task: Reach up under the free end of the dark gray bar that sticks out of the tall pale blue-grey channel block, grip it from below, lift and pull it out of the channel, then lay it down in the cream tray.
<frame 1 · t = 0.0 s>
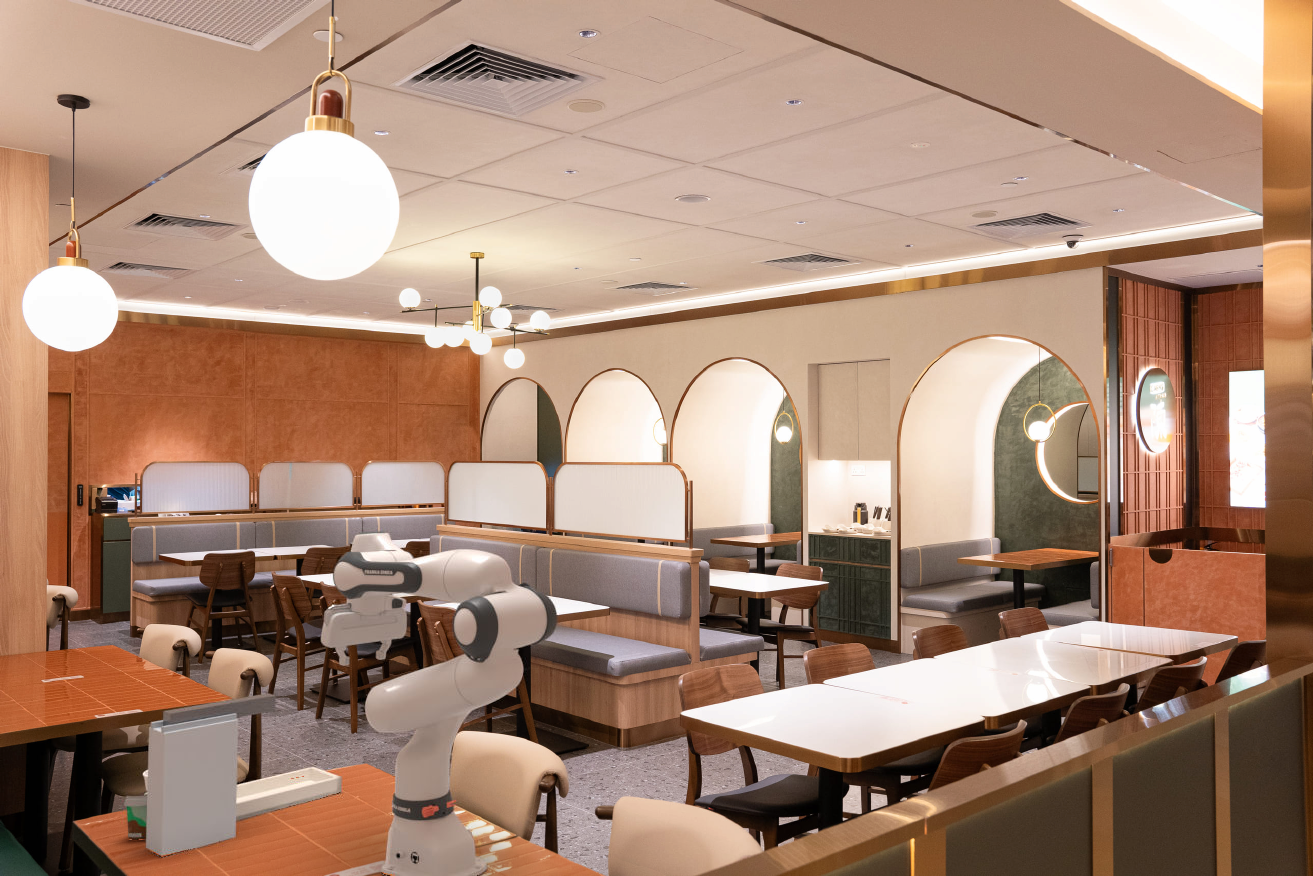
hand: (362, 661, 221), 39 cm above the table, tool pointing down, fingers open, 8 cm apart
tray: (270, 802, 242), on the table
dark gray bar: (221, 718, 220), point 26 cm above the table, touching channel block
channel block: (191, 842, 214), on the table
food container: (156, 835, 219), on the table
cup: (165, 818, 230), on the table
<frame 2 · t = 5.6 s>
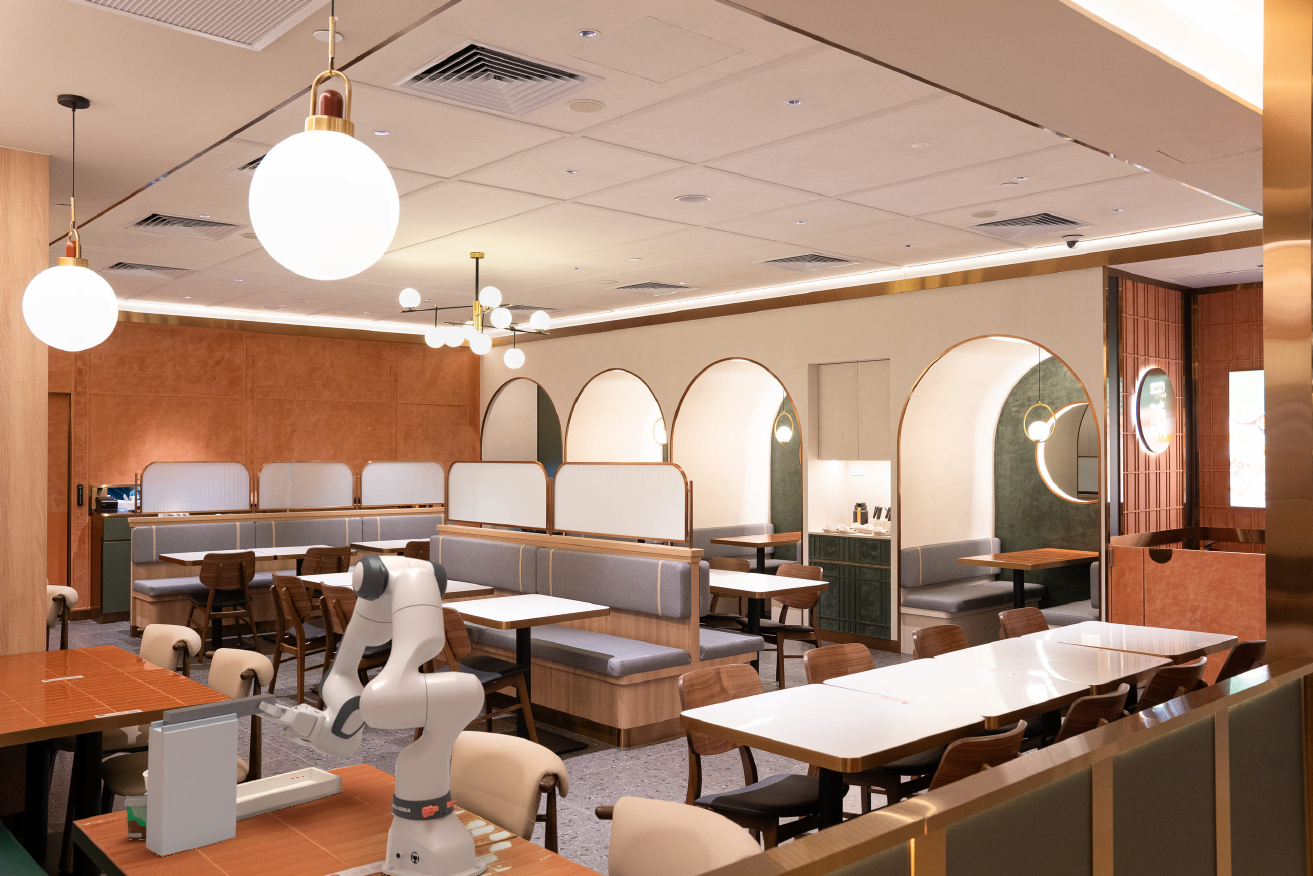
hand: (254, 703, 226), 28 cm above the table, tool pointing upward, fingers closed on dark gray bar, 3 cm apart
dark gray bar: (221, 718, 220), point 26 cm above the table, touching channel block, gripper
everything else where it was.
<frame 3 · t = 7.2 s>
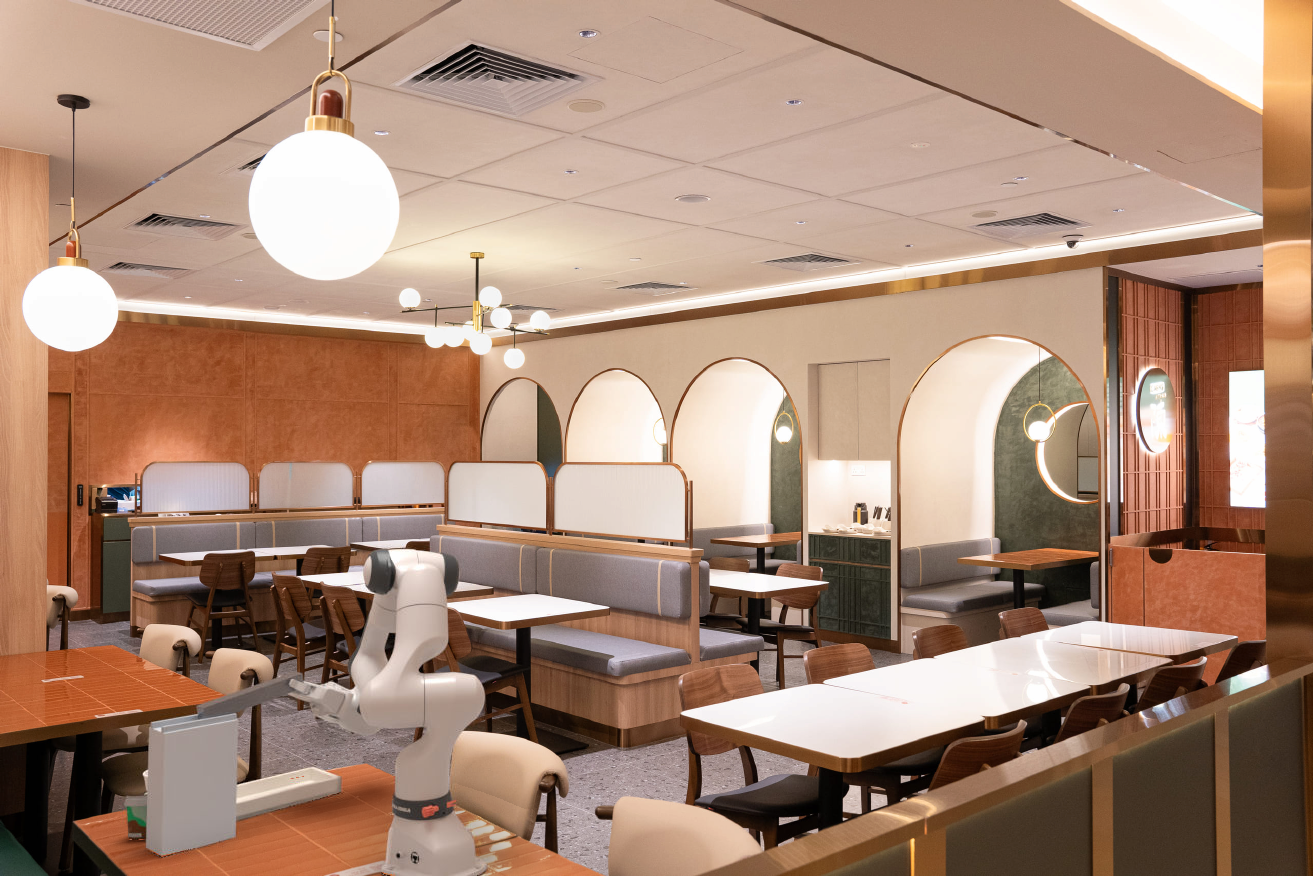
hand: (284, 680, 232), 32 cm above the table, tool pointing upward, fingers closed on dark gray bar, 3 cm apart
dark gray bar: (253, 703, 226), point 28 cm above the table, tilted 10°, touching gripper
everything else where it was.
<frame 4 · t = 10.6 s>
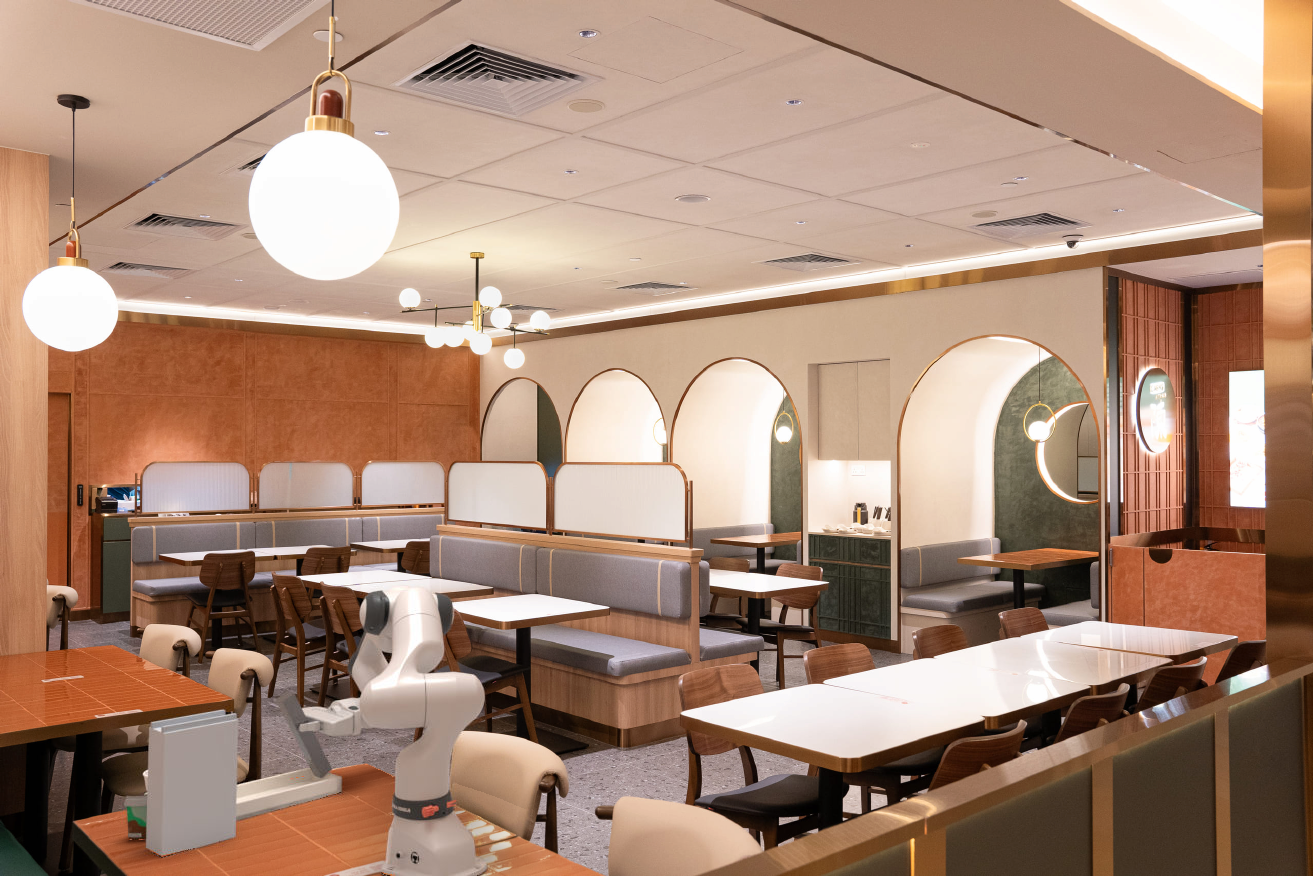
hand: (294, 726, 247), 17 cm above the table, tool horizontal, fingers closed on dark gray bar, 4 cm apart
dark gray bar: (309, 730, 250), point 16 cm above the table, tilted 117°, touching gripper, tray
everything else where it was.
when the fingers open (13 cm above the table, at t = 11.7 s): dark gray bar drops 10 cm and tips over, resting on tray.
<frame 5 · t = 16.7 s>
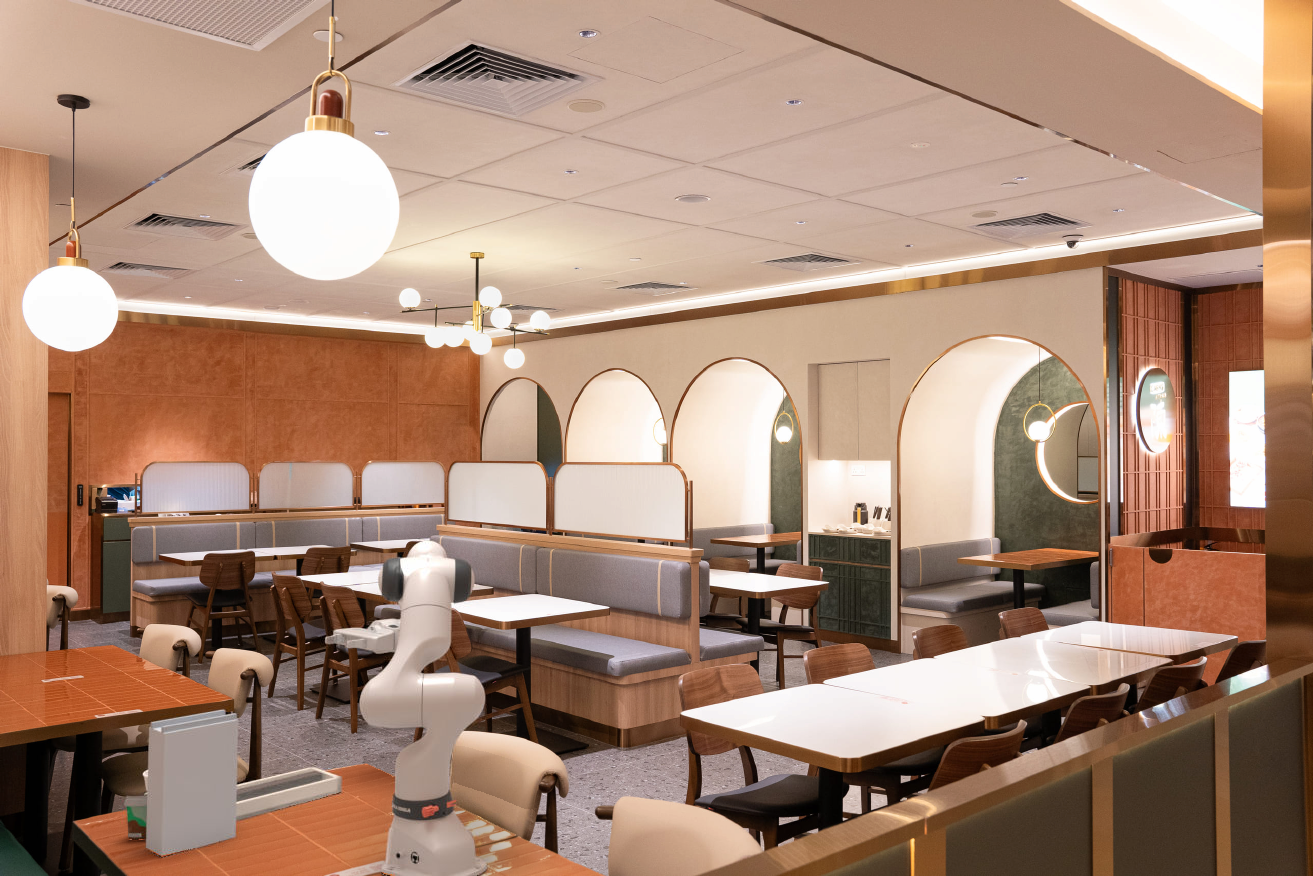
hand: (336, 642, 252), 38 cm above the table, tool horizontal, fingers open, 8 cm apart
dark gray bar: (274, 782, 243), point 4 cm above the table, tilted 180°, touching tray
everything else where it was.
at the end: dark gray bar inside the target area on the tray (1.1 cm from its centre), point 4.5 cm above the tray's base; the gripper is holding nothing; dark gray bar moved 32.3 cm from its start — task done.
